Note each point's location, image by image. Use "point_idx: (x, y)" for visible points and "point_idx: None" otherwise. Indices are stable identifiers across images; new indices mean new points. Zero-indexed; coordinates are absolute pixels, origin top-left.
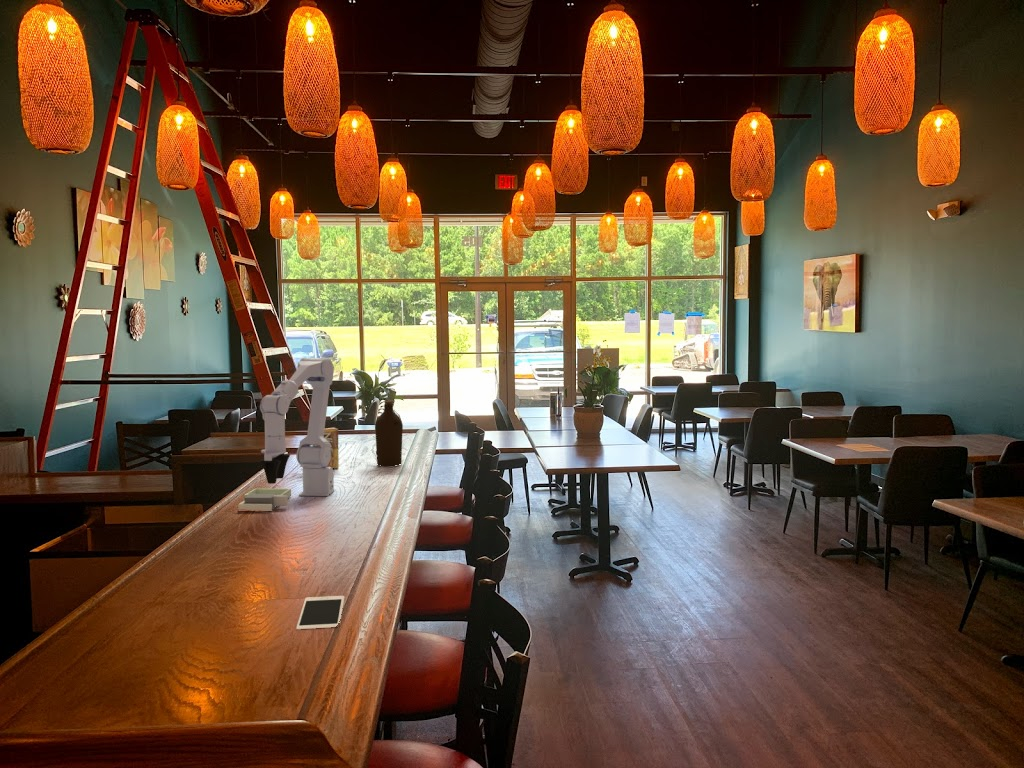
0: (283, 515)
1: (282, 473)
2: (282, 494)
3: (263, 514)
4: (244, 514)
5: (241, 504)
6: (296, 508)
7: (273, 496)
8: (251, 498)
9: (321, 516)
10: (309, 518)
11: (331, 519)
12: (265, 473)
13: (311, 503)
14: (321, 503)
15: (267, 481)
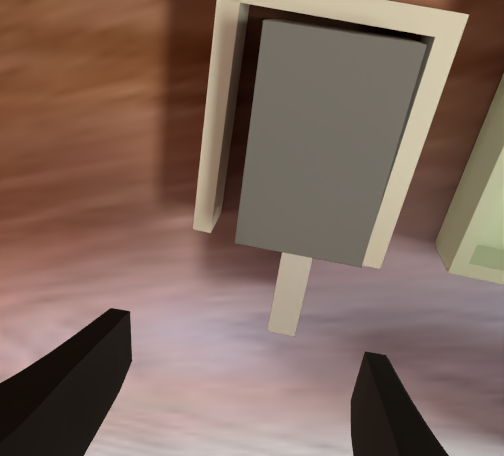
0: (133, 276)
1: (354, 444)
2: (472, 277)
3: (153, 172)
4: (152, 47)
5: (217, 4)
6: None
7: (282, 252)
8: (256, 88)
9: (122, 415)
10: None
11: None
12: (29, 366)
13: None
14: None
15: (98, 317)
